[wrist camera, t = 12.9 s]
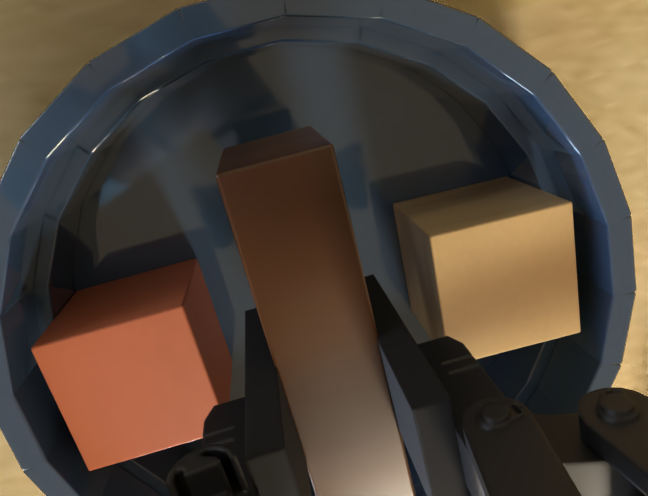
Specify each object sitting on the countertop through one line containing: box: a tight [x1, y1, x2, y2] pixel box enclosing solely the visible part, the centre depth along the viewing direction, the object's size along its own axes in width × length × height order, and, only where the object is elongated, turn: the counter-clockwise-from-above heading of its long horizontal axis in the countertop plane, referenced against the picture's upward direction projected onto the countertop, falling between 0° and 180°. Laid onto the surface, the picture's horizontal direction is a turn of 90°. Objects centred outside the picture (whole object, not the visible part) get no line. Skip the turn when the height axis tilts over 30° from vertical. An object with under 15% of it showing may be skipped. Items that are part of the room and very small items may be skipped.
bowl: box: [0, 0, 636, 496], centre depth 19 cm, size 20×20×6 cm
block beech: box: [393, 177, 581, 359], centre depth 19 cm, size 4×4×4 cm
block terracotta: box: [31, 258, 232, 471], centre depth 19 cm, size 4×4×4 cm
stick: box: [216, 126, 416, 496], centre depth 15 cm, size 12×2×4 cm, turn 14°
